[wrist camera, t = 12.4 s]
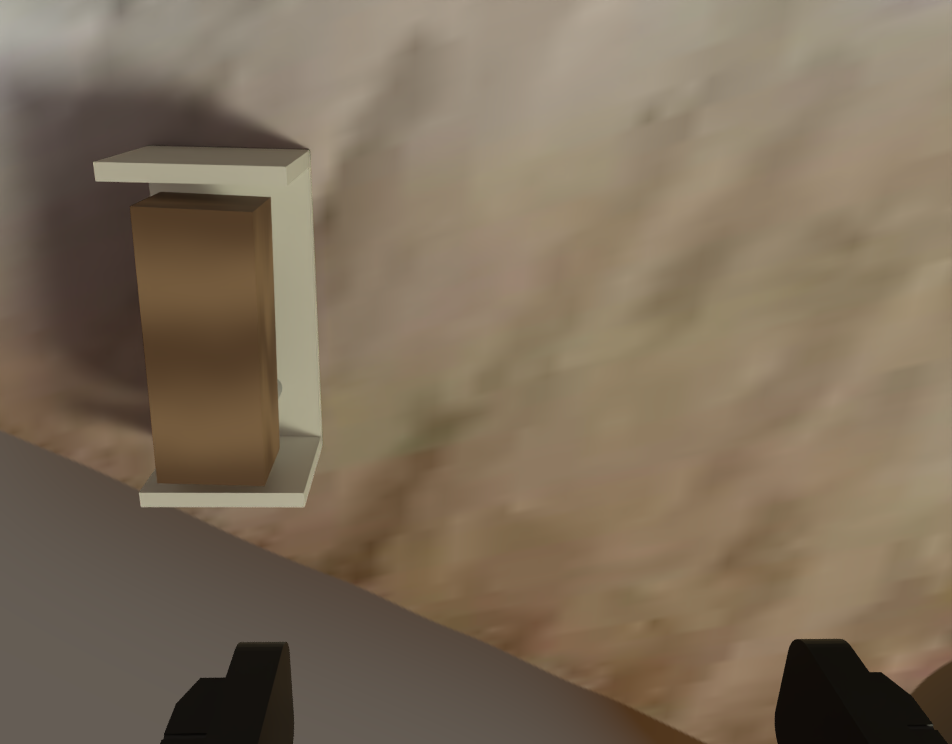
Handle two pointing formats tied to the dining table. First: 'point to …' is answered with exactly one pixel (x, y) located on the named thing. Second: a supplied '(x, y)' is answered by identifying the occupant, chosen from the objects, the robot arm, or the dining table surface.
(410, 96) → the dining table surface
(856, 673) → the robot arm
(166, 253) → the brown rectangular block
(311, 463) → the shelf frame
